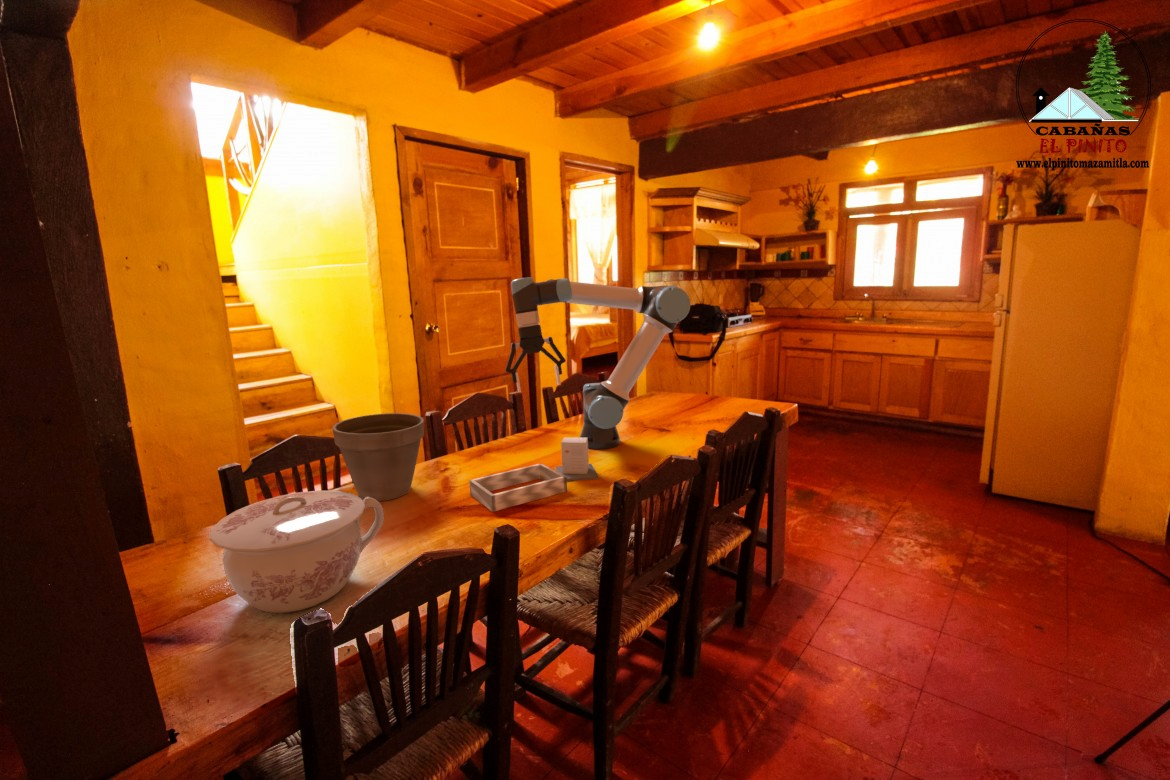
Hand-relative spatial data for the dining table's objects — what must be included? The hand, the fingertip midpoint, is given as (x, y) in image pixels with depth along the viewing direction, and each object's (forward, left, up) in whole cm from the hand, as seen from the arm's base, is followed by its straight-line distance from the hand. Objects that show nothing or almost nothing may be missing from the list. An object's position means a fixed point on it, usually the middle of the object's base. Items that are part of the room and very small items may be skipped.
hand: (539, 388), depth 187 cm
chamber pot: (+57, +71, -25) cm, 95 cm away
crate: (+10, +29, -25) cm, 39 cm away
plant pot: (+49, +18, -25) cm, 58 cm away
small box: (-9, +16, -25) cm, 31 cm away
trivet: (-9, +16, -25) cm, 31 cm away
